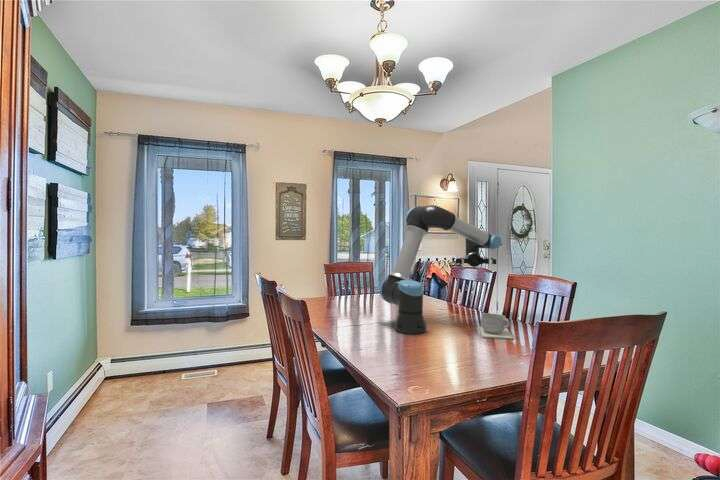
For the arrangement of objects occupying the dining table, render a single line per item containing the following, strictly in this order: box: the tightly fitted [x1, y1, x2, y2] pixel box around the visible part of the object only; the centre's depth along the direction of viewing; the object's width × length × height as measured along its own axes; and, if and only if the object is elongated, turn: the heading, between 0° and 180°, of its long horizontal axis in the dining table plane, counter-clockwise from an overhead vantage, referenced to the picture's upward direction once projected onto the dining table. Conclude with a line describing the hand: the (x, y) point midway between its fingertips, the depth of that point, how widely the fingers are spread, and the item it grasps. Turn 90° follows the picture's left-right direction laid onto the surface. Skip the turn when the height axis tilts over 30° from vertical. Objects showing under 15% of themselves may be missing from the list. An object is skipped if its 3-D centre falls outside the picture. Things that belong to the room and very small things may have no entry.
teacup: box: [480, 312, 511, 333], centre depth 173 cm, size 14×11×8 cm
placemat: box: [478, 325, 515, 341], centre depth 174 cm, size 13×19×1 cm
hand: (477, 262), depth 187 cm, fingers open, 13 cm apart
